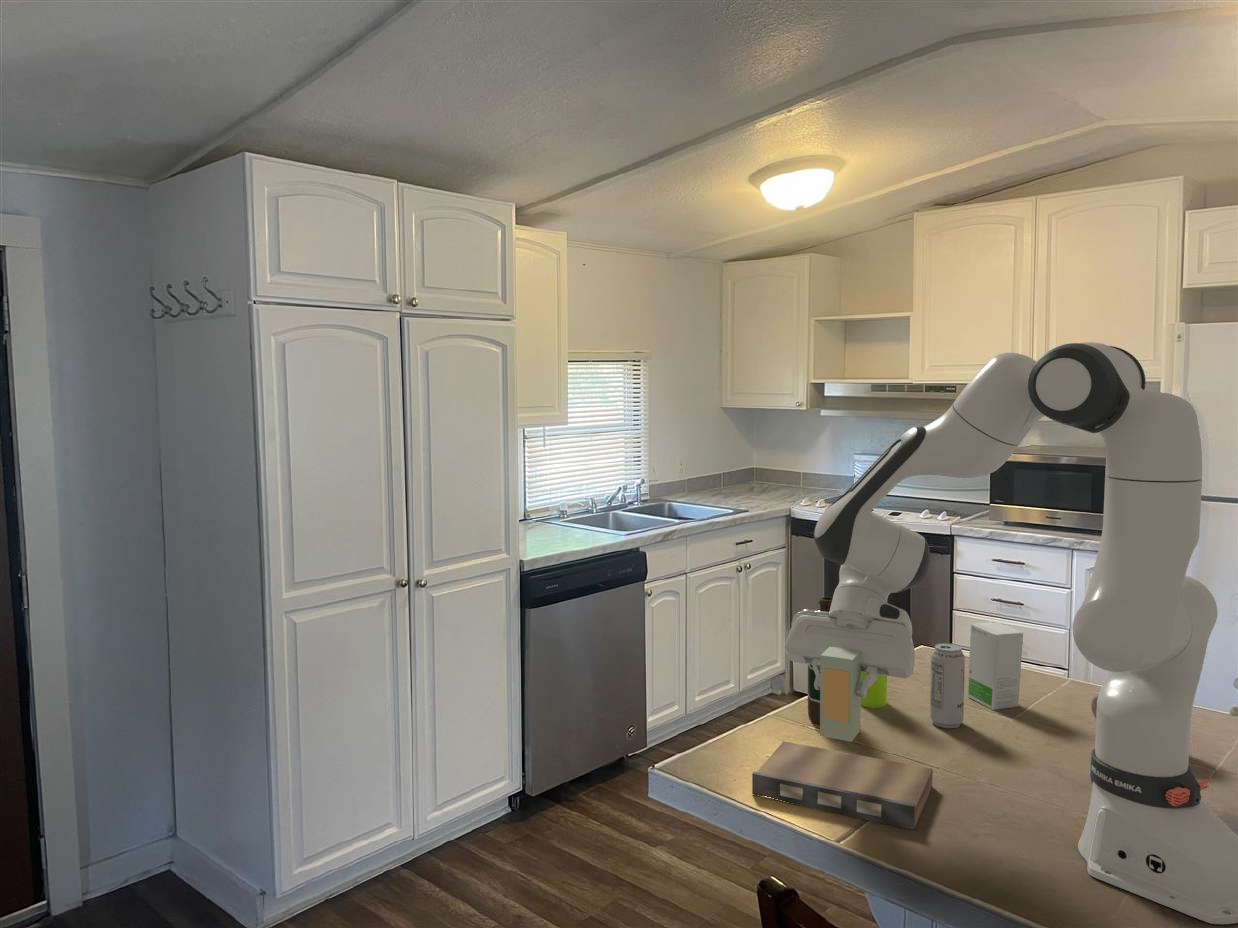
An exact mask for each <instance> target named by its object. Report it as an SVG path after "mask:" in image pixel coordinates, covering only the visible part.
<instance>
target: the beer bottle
mask: <svg viewBox="0 0 1238 928" xmlns="http://www.w3.org/2000/svg"><path fill="white" fill-rule="evenodd" d="M832 599H833V596H823V597H821V598H819V600H818V604H819V611H825V612H829V611H830V607H831V603H832ZM819 672H820V671H819ZM815 678H816V675H815V672H814V669H813V667H812V664H807V715H808V717H809V720H810V721H811V724H812V723H813V724H815V725H819V726H820V690H816V689H815V687H814V682H815Z"/></svg>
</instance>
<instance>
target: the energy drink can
mask: <svg viewBox="0 0 1238 928" xmlns="http://www.w3.org/2000/svg"><path fill="white" fill-rule="evenodd" d="M962 650H963V649H962V647H961V645H958V644H955V643H951V642H950V643H949V642H948V643H947V642H941V643H936V644H934V648H933V650H932V652H931V654H930V689H929V691H930V692H929V694H930V697H929V699H930V700H929V718H930V719H931V720H932V723H933V725H935V727H936V726H937V727H940V728H943V729H956V728H959V727H960V726H961V724H962V723H963V722H964V711H965V707H964V706H965V704H964V703H965V671H966V669H965V666H966V664H965V663H966V658H965V657H966V656H965V654H964V652H963V651H962Z"/></svg>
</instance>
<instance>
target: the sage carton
mask: <svg viewBox="0 0 1238 928" xmlns="http://www.w3.org/2000/svg"><path fill="white" fill-rule="evenodd" d="M860 656H861V651H860V650H852V649H845V648H838V647H831V646H830V647H829V648H828V649H827V650H826V651H824V652H823V653H822V654H821V660H820V725H819V737H824V738H830V739H835V740H841V741H845V742H853V740H854V739H855V738H856V737H857V736H858V734H859V733H860V731H861V708H862V706H861V697H859V696H856V694H855V688H856V682H861V664H860Z"/></svg>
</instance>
